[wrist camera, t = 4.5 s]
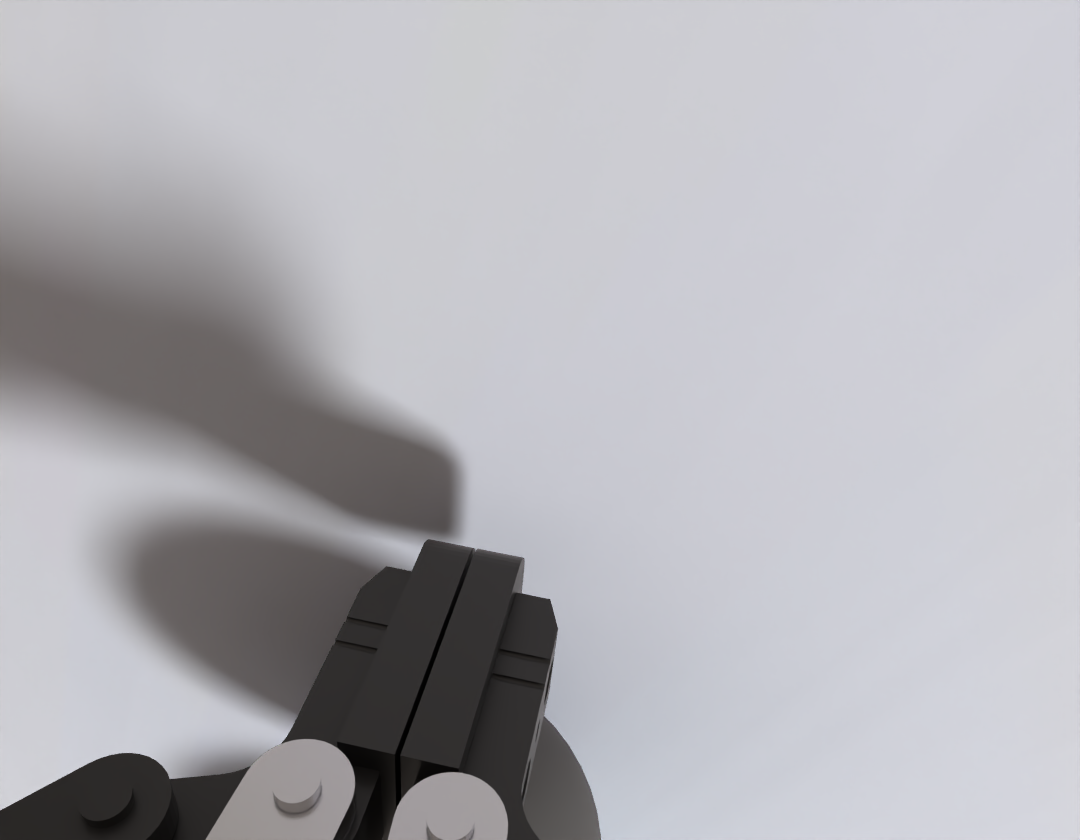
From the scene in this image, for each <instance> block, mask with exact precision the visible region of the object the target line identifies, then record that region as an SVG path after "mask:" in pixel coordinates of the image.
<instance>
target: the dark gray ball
mask: <svg viewBox="0 0 1080 840" xmlns="http://www.w3.org/2000/svg"><path fill="white" fill-rule="evenodd" d="M523 810H524V813H525V816H526V818H527V821H528V823H529V825H530V827H531V828H532V830H533V831H534V833H535V834H536V835H537V837H538V838H539V839H540V840H601V834H600V828H599V821H598V815H597V810H596V806H595V803H594V799H593V796H592V792H591V789H590V786H589V784H588V782H587V779H586V777H585V775H584V772H583V770H582V768H581V766H580V764H579V762H578V761H577V759H576V757H575V755H574V754H573V752H572V750H571V749H570V747H569V745H568V744H567V742H566V741H565V740H564V739H563V737H562V736H561V735H560V733H559V732H558V731H557V729H556V728H555V727H554V726H553V725H552V724H551V723H550V722H549V721H548V720H547V719H546V718H545V717H543V721H542V725H541V730H540V735H539V739H538V744H537V748H536V752H535V757H534V762H533V766H532V771H531V775H530V780H529V784H528V788H527V793H526V797H525V802H524V806H523Z"/></svg>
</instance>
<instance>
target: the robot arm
mask: <svg viewBox="0 0 1080 840" xmlns="http://www.w3.org/2000/svg"><path fill="white" fill-rule="evenodd" d="M523 573H524V558H521V557H516V556H511V555H506V554H501V553H496V552H491V551H486V550H481V549H477V550H476V551H475V549H474V548H470V547H465V546H460V545H455V544H450V543H445V542H440V541H435V540H430V539H428V540H427V541H426V542H425V543H424V545H423V547H422V549H421V552H420V554H419V556H418V558H417V561H416V563H415V565H414V567H413V570H412V571H407V570H402V569H397V568H392V567H387V566H386V567H385V568H384V569H383V570H382V571H381V572H380V573H378V574H377V575H376V576H375V577H374V578H373V579H371V580H370V581H369V582H368V583H367V584H366V585H364V586H363V587H362V588H361V590H360V592H359V594H358V596H357V598H356V600H355V602H354V604H353V606H352V608H351V610H350V612H349V614H348V616H347V620H346V622H344V624H343V626H342V628H341V630H340V632H339V634H338V636H337V638H336V642H335V645H334V646H332V648H331V650H330V652H329V654H328V656H327V658H326V660H325V662H324V664H323V666H322V668H321V670H320V672H319V674H318V676H317V678H316V681H315V683H314V685H313V687H312V689H311V691H310V693H309V695H308V697H307V699H306V701H305V703H304V705H303V707H302V709H301V711H300V713H299V715H298V717H297V719H296V721H295V723H294V725H293V727H292V729H291V731H290V732H289V734H288V736H287V737H286V738H285V740H284V741H283V742H282V743H281V744H280V745H278V746H275V747H274V748H272V749H270V750H268V751H267V752H266V753H264V754H263V755H262V756H260V757H259V758H258V759H257V760H256V761H255V762H254V763H253V764H252V766H250V767H247V768H245V769H243V770H239V771H236V772H232V773H227V774H221V775H211V776H200V777H189V778H178V779H169V776H168V774H167V772H166V770H165V769H164V768H163V766H162V765H160V764H159V763H158V762H157V761H156V760H154V759H152V758H150V757H148V756H144V755H141V754H134V753H120V754H115V755H109V756H106V757H103V758H100V759H97V760H95V761H93V762H91V763H89V764H87V765H85V766H83V767H81V768H79V769H77V770H76V771H74V772H72V773H70V774H68V775H66V776H64V777H62V778H60V779H59V780H57V781H55V782H53V783H51V784H49V785H47V786H45V787H44V788H42V789H40V790H38V791H36V792H34V793H32V794H30V795H29V796H27V797H25V798H23V799H21V800H19V801H17V802H15V803H14V804H12V805H10V806H8V807H6V808H4V809H2V810H0V840H540V839H539V838H538V837H537V835H536V834H535V833H534V831H533V830H532V828H531V827H530V825H529V823H528V821H527V818H526V816H525V813H524V810H523V806H524V802H525V797H526V793H527V788H528V784H529V780H530V775H531V771H532V766H533V762H534V757H535V752H536V748H537V744H538V739H539V735H540V730H541V725H542V721H543V717H544V713H545V708H546V704H547V699H548V695H549V689H550V682H551V675H552V667H553V660H554V653H555V646H556V639H557V632H558V627H557V624H556V620H555V616H554V612H553V608H552V604H551V601H550V599H546V598H541V597H536V596H531V595H526V594H522V583H523Z"/></svg>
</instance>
